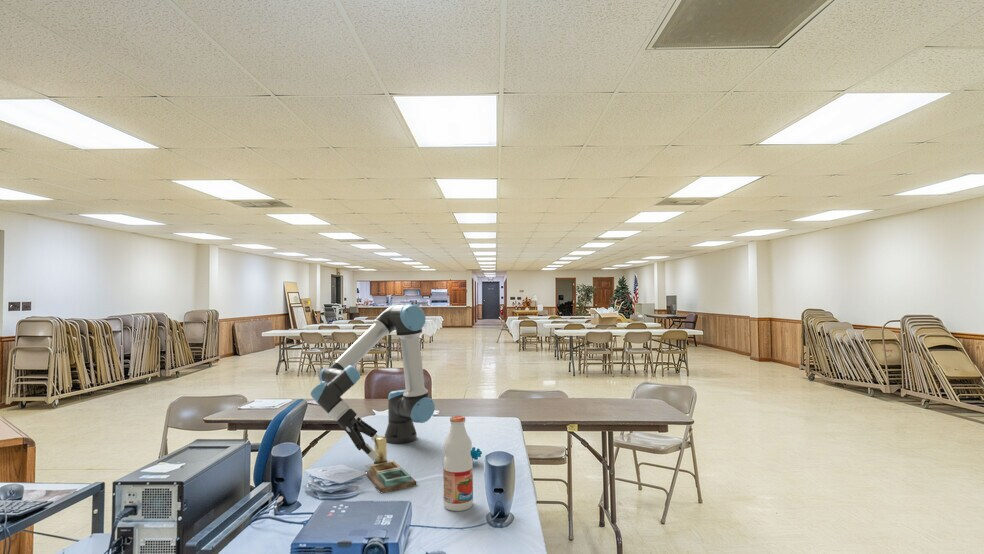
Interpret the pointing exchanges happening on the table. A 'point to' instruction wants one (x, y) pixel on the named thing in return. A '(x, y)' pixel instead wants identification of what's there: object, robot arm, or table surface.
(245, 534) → the table surface
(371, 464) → the mat
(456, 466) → the fruit juice
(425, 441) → the table surface
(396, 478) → the brown wooden flat tray
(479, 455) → the gear
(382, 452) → the gold metal cylinder
